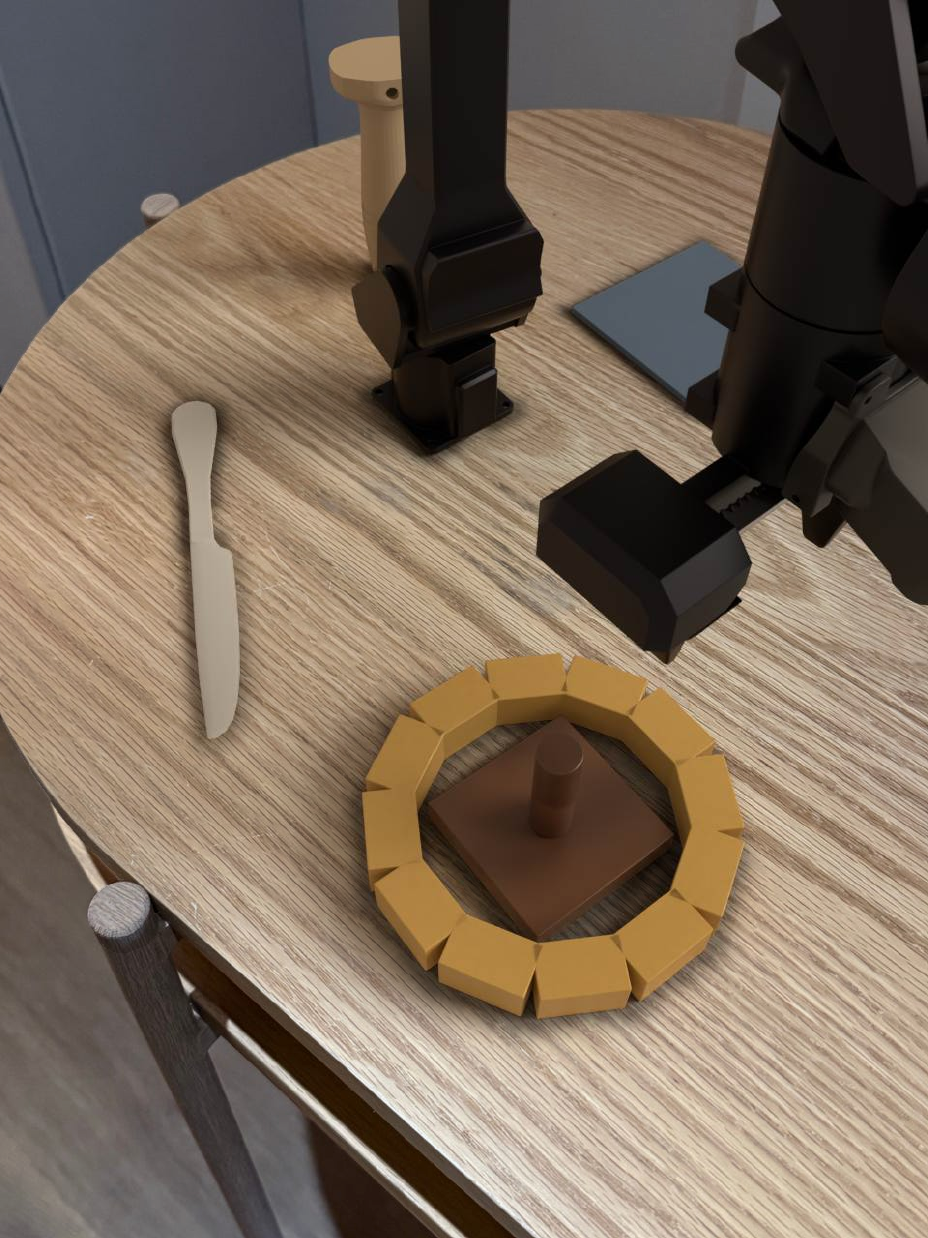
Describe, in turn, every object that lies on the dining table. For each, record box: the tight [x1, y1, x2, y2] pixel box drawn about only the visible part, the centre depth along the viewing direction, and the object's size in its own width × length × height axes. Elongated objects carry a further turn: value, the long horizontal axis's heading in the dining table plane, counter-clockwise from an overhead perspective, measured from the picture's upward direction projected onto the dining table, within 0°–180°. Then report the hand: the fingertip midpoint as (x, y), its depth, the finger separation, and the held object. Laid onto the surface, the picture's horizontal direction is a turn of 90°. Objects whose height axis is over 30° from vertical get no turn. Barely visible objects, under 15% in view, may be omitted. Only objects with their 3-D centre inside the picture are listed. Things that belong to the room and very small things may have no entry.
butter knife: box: [171, 400, 241, 740], centre depth 63 cm, size 1×24×3 cm
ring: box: [361, 652, 746, 1020], centre depth 52 cm, size 17×17×2 cm
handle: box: [328, 35, 406, 272], centre depth 72 cm, size 5×6×15 cm
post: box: [427, 714, 675, 943], centre depth 50 cm, size 8×8×8 cm
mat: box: [570, 240, 742, 404], centre depth 75 cm, size 12×12×1 cm
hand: (740, 596), depth 46 cm, fingers open, 9 cm apart
